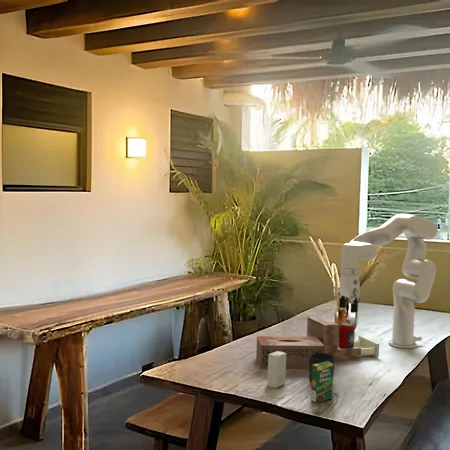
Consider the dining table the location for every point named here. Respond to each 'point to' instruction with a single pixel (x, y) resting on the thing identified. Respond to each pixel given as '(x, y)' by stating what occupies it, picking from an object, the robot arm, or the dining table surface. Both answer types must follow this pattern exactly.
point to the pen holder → (319, 361)
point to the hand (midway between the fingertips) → (348, 310)
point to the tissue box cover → (288, 350)
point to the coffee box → (321, 381)
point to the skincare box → (276, 369)
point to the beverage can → (346, 336)
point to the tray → (367, 346)
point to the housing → (330, 338)
